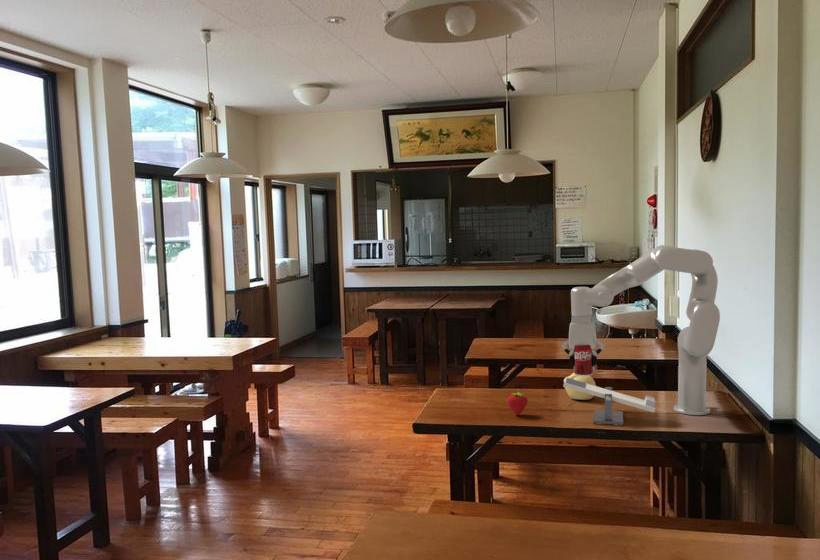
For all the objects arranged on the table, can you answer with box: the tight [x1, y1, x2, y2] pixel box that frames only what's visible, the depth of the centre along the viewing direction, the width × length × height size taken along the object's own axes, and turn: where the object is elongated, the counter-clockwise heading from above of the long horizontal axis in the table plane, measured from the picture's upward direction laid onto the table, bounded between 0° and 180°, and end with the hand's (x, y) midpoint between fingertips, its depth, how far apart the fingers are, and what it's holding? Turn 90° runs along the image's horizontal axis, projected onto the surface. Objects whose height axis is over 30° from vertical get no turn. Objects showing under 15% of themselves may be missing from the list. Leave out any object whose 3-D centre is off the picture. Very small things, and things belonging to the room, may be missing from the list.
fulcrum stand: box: [593, 386, 624, 426], centre depth 242 cm, size 10×14×10 cm
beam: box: [562, 377, 657, 414], centre depth 242 cm, size 32×8×4 cm, turn 74°
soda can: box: [573, 344, 594, 377], centre depth 256 cm, size 7×7×12 cm
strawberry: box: [506, 388, 528, 416], centre depth 250 cm, size 6×8×10 cm
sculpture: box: [563, 372, 597, 401], centre depth 271 cm, size 11×12×11 cm
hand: (583, 365), depth 256 cm, fingers closed on soda can, 7 cm apart
